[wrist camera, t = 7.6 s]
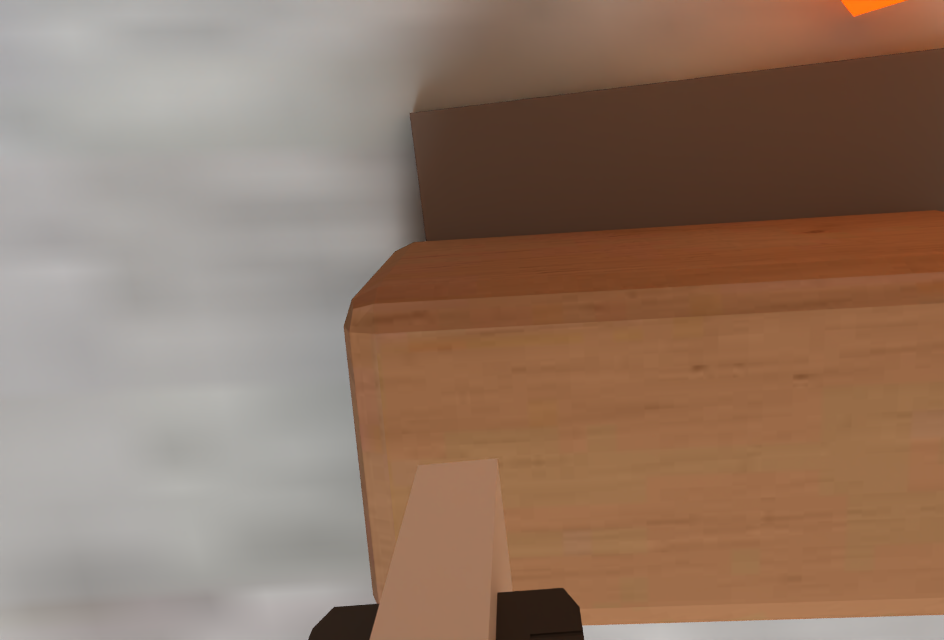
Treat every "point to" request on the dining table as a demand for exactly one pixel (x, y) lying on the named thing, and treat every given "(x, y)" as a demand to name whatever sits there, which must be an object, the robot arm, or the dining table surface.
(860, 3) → the orange juice
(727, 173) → the mat
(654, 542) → the wooden block
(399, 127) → the dining table surface
